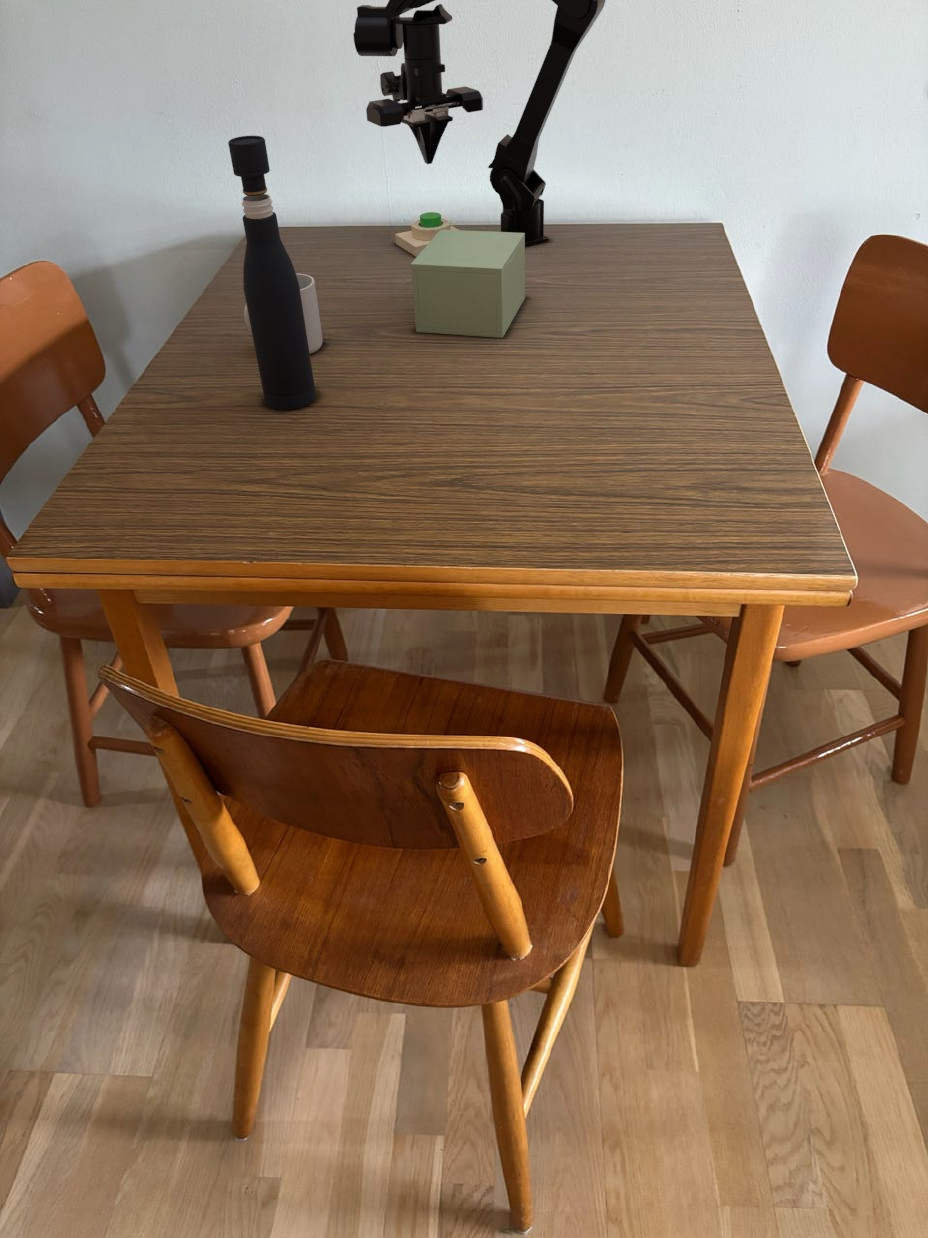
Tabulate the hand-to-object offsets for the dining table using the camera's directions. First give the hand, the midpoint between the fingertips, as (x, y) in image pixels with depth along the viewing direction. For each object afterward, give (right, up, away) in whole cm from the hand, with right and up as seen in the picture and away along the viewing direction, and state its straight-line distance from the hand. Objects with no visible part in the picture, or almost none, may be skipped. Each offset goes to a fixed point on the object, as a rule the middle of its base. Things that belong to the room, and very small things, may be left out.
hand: (428, 163), depth 160 cm
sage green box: (+7, -32, -21) cm, 39 cm away
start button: (0, -10, +2) cm, 10 cm away
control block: (+1, -12, +4) cm, 13 cm away
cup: (-19, -39, -27) cm, 51 cm away
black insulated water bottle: (-16, -49, -39) cm, 65 cm away
